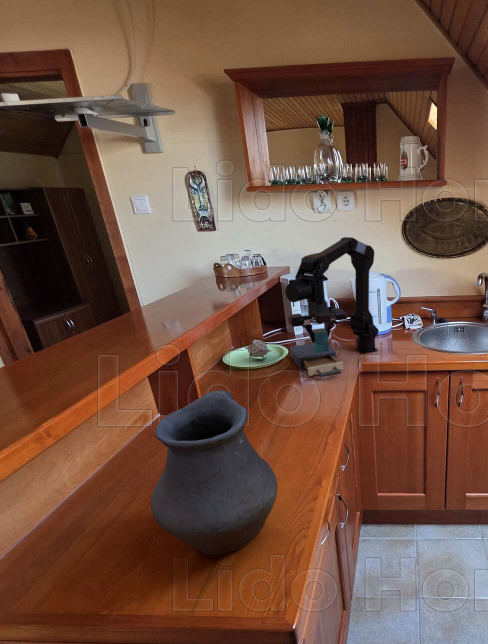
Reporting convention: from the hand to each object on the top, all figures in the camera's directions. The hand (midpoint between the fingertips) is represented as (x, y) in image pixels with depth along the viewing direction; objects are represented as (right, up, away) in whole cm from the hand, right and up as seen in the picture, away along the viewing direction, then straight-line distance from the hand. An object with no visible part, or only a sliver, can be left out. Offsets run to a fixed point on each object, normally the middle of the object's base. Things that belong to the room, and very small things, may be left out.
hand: (319, 341), depth 143 cm
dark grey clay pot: (-7, -42, -66) cm, 78 cm away
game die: (-25, -5, +16) cm, 30 cm away
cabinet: (-4, -6, +14) cm, 15 cm away
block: (0, -3, +1) cm, 3 cm away
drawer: (+1, -9, +3) cm, 10 cm away
